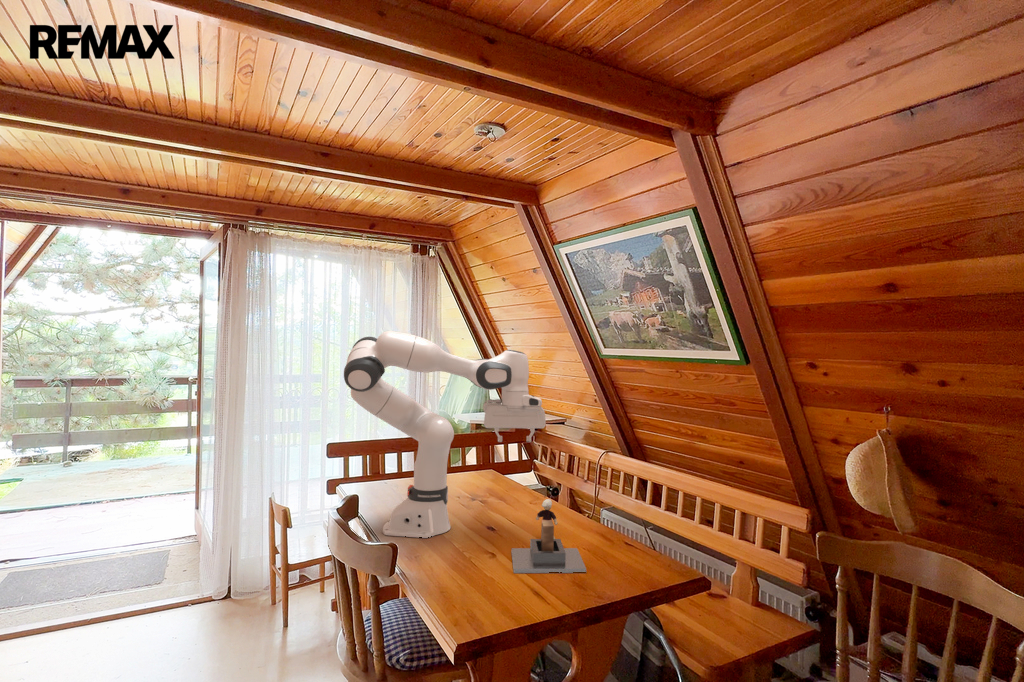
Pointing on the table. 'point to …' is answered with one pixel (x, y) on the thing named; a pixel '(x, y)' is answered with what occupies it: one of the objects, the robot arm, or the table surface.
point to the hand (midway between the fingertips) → (514, 441)
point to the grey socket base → (547, 559)
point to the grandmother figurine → (547, 512)
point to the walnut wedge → (547, 536)
